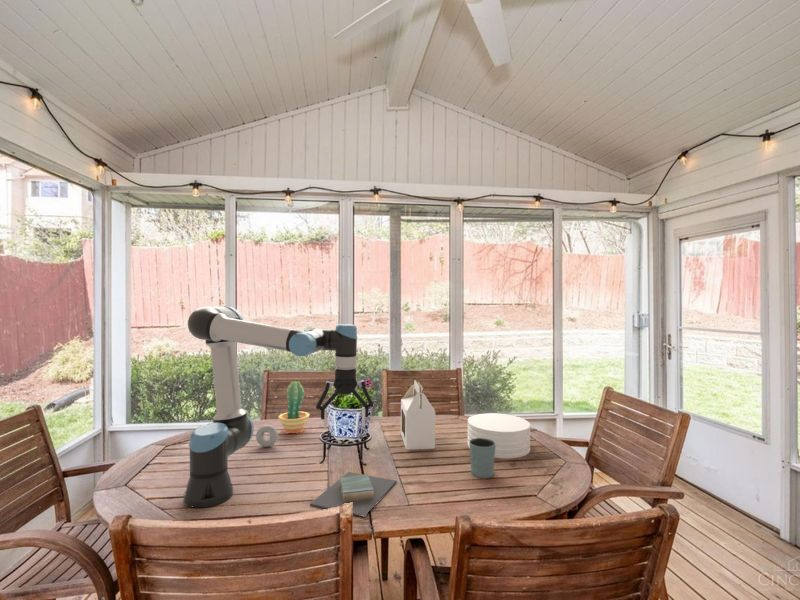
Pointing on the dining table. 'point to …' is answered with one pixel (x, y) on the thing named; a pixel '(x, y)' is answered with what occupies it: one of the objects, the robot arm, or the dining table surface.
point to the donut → (267, 442)
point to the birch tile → (356, 488)
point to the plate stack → (501, 433)
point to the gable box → (417, 419)
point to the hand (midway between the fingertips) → (344, 427)
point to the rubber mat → (334, 499)
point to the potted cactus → (294, 409)
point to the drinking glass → (482, 457)
